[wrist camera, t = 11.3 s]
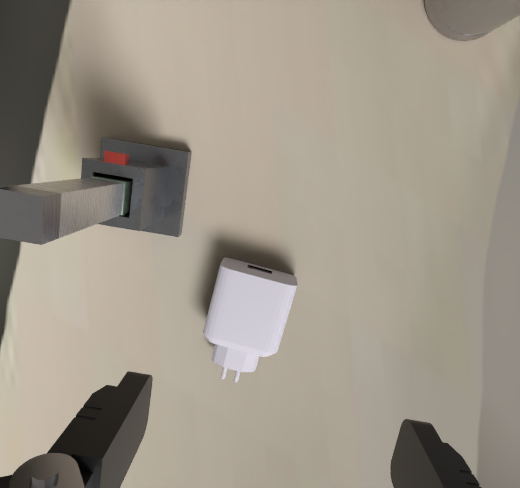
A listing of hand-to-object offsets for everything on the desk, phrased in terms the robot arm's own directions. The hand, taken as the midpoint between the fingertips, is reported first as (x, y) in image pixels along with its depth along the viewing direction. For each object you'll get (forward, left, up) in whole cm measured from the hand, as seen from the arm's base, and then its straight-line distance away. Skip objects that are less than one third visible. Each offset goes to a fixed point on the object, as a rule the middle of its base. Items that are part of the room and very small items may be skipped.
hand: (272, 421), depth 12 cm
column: (-2, -16, -29) cm, 33 cm away
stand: (-2, -16, -36) cm, 40 cm away
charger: (+13, -2, -37) cm, 39 cm away
